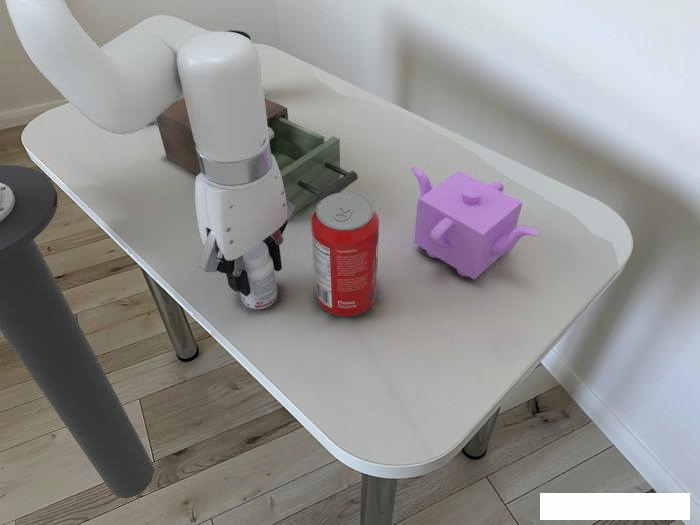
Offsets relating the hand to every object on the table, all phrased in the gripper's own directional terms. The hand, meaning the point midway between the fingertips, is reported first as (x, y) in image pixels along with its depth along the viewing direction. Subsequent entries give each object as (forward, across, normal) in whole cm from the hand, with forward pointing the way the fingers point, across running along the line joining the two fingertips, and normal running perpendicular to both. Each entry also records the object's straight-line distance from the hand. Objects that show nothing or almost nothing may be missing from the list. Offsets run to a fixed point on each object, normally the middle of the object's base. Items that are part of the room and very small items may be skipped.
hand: (256, 276), depth 73 cm
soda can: (+4, -7, +9) cm, 12 cm away
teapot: (+4, -24, +16) cm, 29 cm away
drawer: (+3, -19, -12) cm, 23 cm away
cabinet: (+4, -19, -27) cm, 33 cm away
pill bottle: (+4, 0, 0) cm, 4 cm away
